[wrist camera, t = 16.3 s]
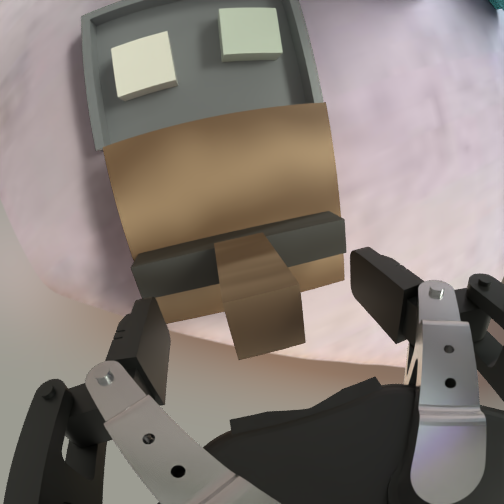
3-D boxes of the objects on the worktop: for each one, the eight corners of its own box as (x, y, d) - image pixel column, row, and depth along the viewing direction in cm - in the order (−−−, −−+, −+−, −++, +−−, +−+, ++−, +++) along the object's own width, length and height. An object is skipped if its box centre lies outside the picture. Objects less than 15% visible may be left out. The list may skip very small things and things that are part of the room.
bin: (90, 25, 15) (81, 16, 13) (283, -11, 17) (291, -23, 15) (106, 150, 20) (95, 150, 18) (312, 107, 22) (323, 103, 20)
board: (122, 147, 20) (102, 147, 16) (302, 110, 22) (325, 102, 17) (164, 295, 26) (158, 325, 21) (321, 257, 27) (344, 279, 22)
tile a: (117, 97, 17) (124, 101, 18) (175, 79, 17) (178, 85, 19) (111, 48, 15) (117, 55, 17) (167, 31, 15) (169, 39, 17)
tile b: (223, 54, 17) (221, 62, 19) (282, 52, 17) (276, 59, 19) (218, 8, 15) (217, 18, 17) (275, 7, 16) (270, 17, 17)
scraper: (137, 249, 19) (94, 328, 10) (328, 206, 20) (411, 252, 11) (150, 287, 20) (123, 379, 11) (331, 244, 21) (406, 307, 12)
